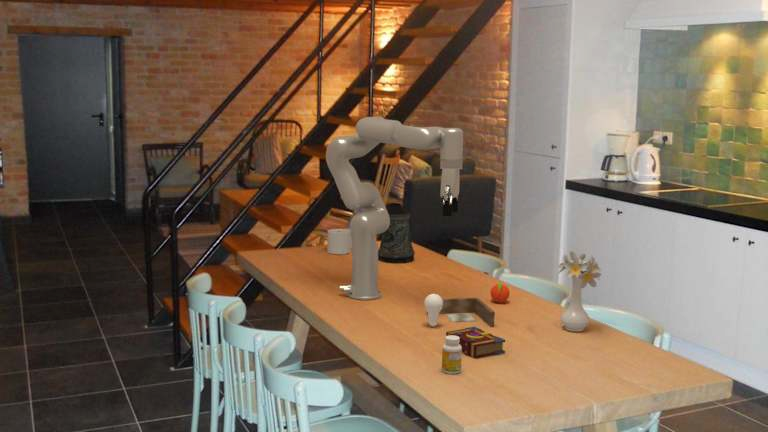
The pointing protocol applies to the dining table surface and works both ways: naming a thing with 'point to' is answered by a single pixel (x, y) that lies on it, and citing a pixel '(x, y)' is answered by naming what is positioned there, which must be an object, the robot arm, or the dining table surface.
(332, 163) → the robot arm
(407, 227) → the beer stein
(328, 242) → the toilet tissue
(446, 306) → the corner fence
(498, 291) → the clementine
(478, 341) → the decorative book
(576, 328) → the flower vase
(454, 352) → the supplement bottle
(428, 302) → the lightbulb
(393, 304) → the dining table surface
